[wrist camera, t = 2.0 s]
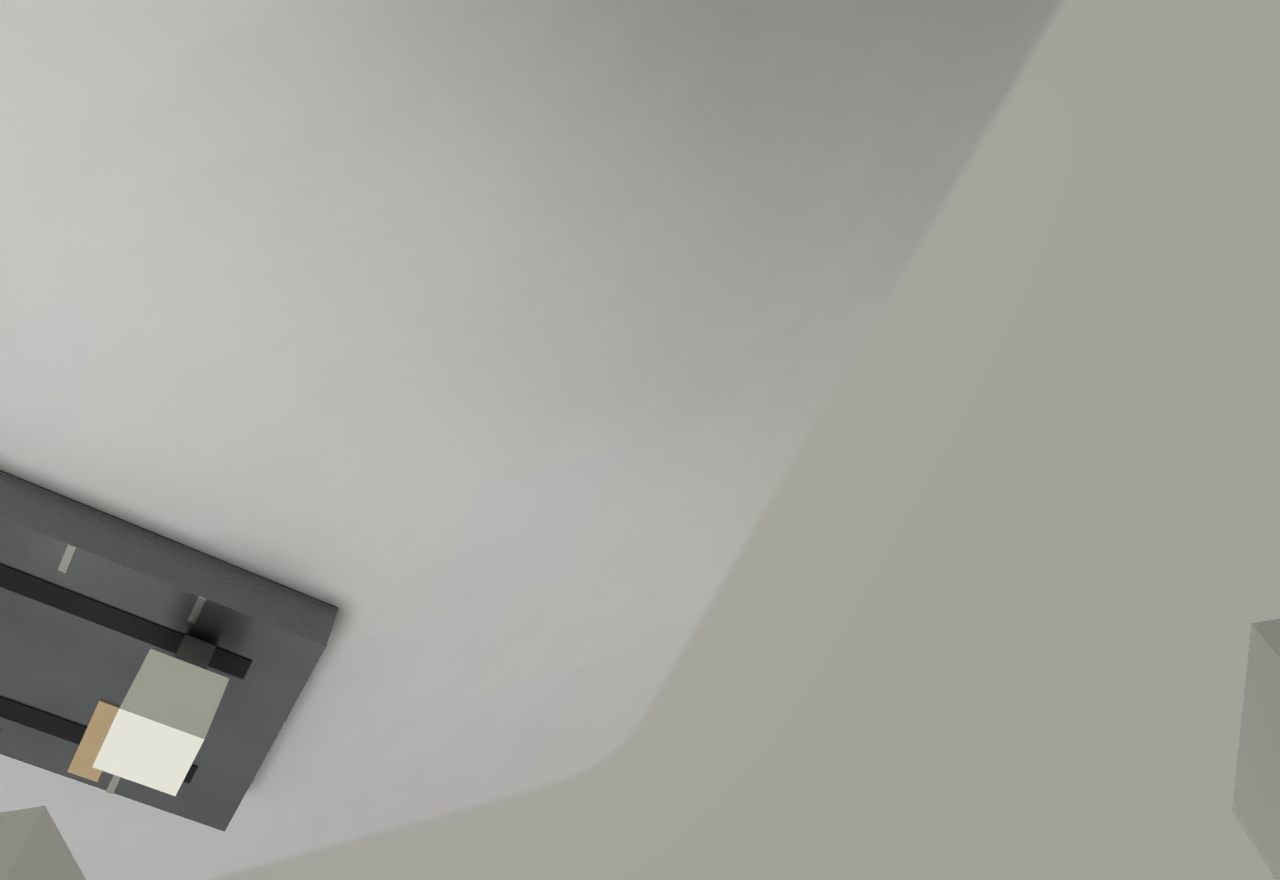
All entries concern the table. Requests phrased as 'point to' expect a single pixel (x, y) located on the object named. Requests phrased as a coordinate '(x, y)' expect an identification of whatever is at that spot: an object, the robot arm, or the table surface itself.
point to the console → (138, 645)
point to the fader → (164, 718)
